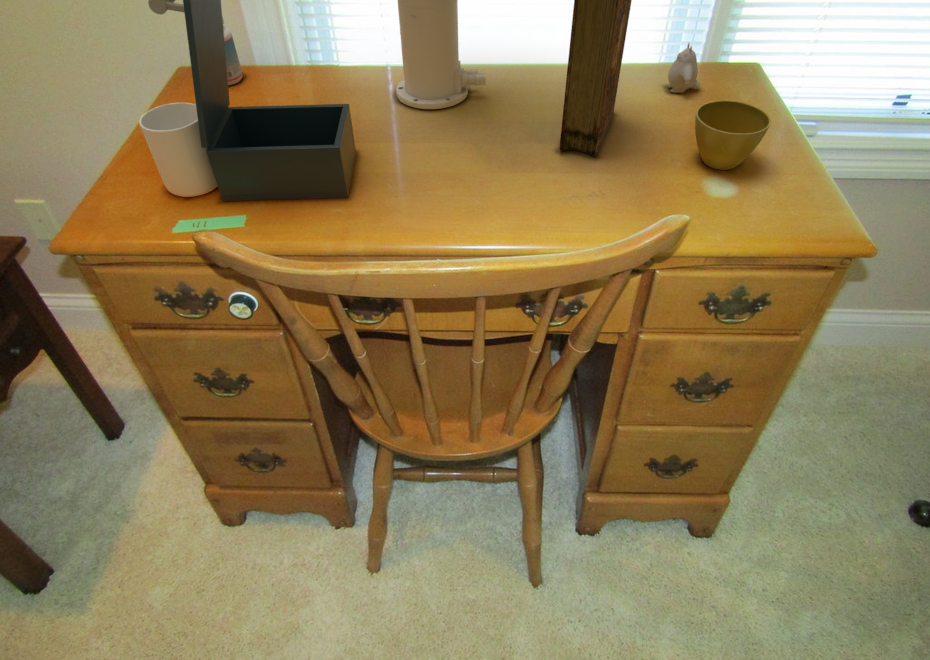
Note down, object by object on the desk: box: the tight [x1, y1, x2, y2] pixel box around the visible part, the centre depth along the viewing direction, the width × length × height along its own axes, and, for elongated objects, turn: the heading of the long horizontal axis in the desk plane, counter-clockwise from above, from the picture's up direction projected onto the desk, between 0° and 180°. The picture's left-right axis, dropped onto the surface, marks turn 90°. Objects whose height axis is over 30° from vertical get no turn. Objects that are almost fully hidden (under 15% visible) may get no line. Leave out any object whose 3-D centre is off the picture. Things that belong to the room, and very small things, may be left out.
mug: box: [138, 101, 218, 198], centre depth 90 cm, size 12×8×10 cm
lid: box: [148, 0, 231, 148], centre depth 80 cm, size 18×13×6 cm
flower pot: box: [694, 99, 772, 171], centre depth 92 cm, size 10×10×7 cm
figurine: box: [666, 42, 701, 94], centre depth 108 cm, size 8×6×8 cm
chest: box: [206, 103, 357, 202], centre depth 90 cm, size 18×13×8 cm
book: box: [559, 0, 632, 157], centre depth 92 cm, size 16×6×25 cm, turn 160°
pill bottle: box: [222, 15, 244, 86], centre depth 112 cm, size 6×6×11 cm
